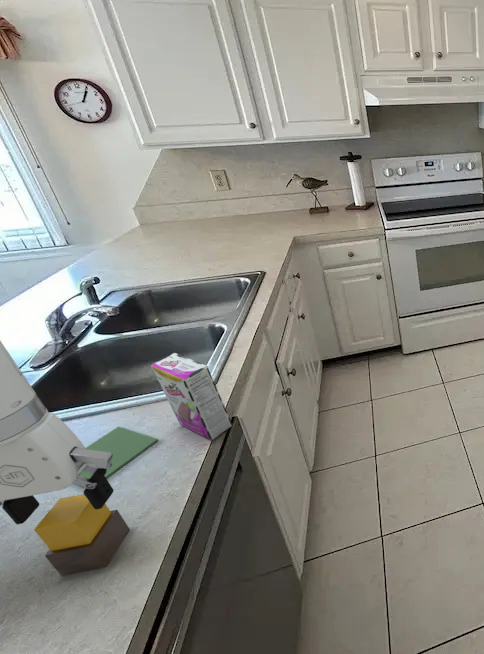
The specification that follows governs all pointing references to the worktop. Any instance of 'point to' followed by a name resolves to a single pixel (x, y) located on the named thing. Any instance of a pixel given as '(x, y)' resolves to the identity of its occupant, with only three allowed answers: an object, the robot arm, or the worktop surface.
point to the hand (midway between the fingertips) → (67, 507)
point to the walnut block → (91, 548)
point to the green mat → (120, 448)
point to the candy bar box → (192, 395)
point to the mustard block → (71, 523)
